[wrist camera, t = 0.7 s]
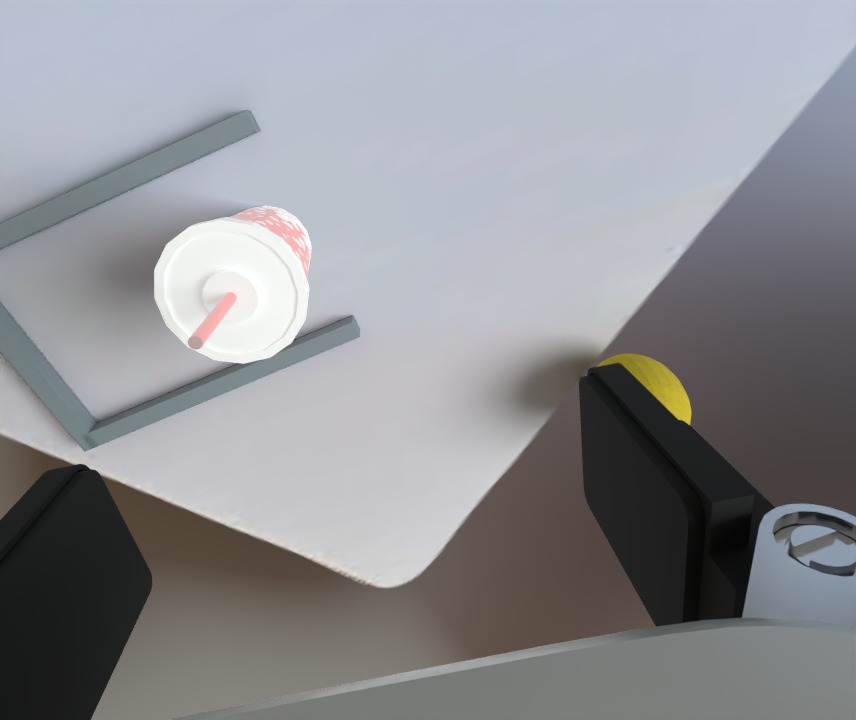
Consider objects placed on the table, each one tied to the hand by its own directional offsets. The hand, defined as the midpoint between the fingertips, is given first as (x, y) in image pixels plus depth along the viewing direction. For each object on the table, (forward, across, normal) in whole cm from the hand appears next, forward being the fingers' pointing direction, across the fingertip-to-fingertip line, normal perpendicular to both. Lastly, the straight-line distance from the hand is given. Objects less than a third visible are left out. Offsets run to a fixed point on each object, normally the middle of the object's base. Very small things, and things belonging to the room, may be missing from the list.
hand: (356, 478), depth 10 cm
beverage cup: (+22, +5, -1) cm, 23 cm away
